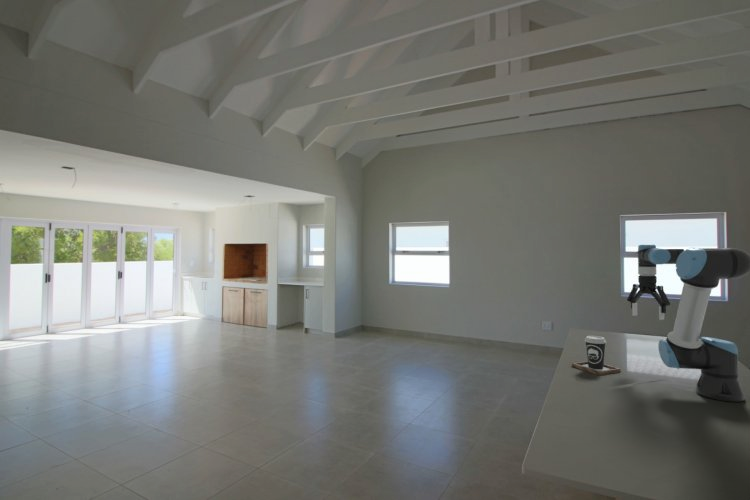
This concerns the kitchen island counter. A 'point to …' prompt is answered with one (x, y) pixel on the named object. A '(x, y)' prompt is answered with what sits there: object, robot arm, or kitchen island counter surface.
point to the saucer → (597, 369)
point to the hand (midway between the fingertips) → (647, 317)
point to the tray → (612, 370)
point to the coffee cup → (595, 351)
